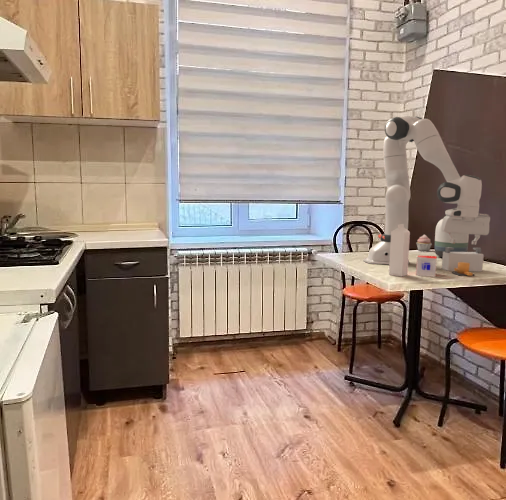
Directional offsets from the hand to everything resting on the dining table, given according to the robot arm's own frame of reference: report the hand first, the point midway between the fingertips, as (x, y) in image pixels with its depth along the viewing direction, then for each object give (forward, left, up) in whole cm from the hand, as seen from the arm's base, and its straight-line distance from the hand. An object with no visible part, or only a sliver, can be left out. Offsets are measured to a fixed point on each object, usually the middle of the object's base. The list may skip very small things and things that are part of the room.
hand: (463, 244), depth 218 cm
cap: (+1, -1, -13) cm, 13 cm away
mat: (+1, -1, -14) cm, 13 cm away
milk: (-29, -4, -14) cm, 33 cm away
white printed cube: (-16, -2, -14) cm, 22 cm away
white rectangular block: (+6, +11, -13) cm, 18 cm away
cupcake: (+13, +79, -14) cm, 81 cm away
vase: (+18, +51, -14) cm, 56 cm away
